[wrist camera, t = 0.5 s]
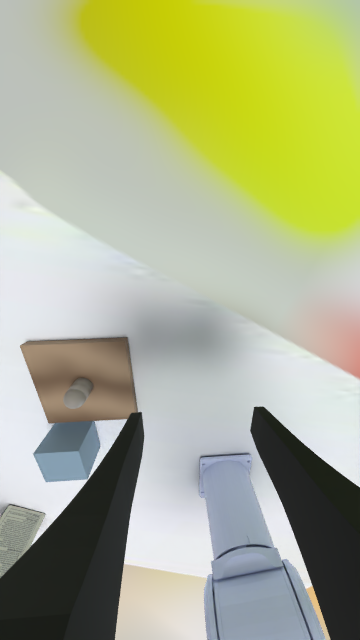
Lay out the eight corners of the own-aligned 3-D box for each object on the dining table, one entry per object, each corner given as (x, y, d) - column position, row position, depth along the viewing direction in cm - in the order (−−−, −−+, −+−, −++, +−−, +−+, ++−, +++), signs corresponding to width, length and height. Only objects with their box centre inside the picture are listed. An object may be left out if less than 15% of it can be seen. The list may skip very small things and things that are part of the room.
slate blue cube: (100, 446, 25) (87, 479, 21) (65, 448, 25) (45, 482, 21) (93, 420, 23) (78, 451, 19) (55, 422, 23) (33, 453, 19)
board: (137, 411, 23) (131, 440, 19) (53, 416, 23) (31, 446, 19) (127, 337, 19) (116, 355, 16) (27, 341, 19) (-8, 361, 15)
